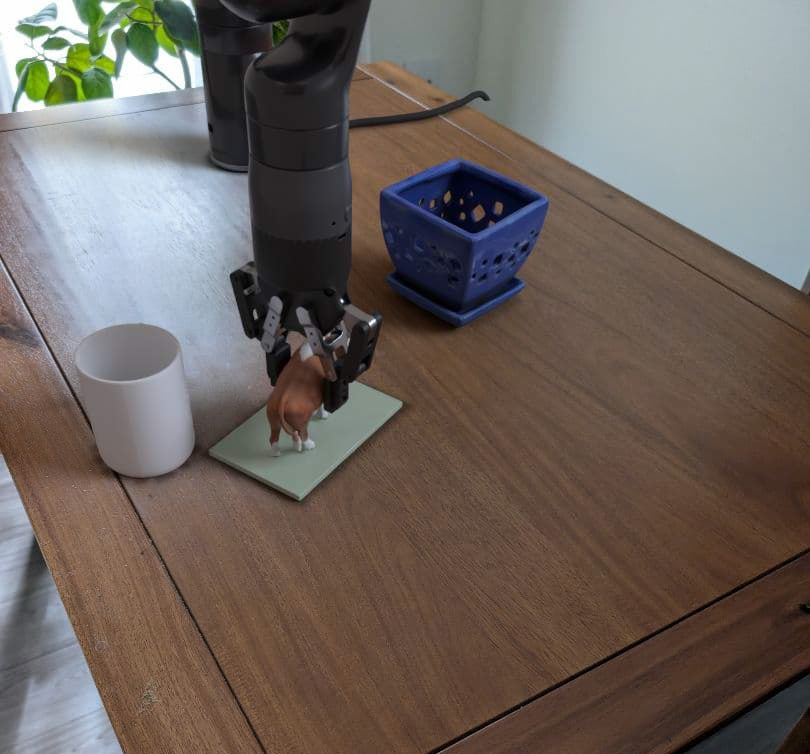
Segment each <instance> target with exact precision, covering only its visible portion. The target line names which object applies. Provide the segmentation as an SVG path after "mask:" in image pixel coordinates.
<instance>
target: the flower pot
mask: <svg viewBox="0 0 810 754" xmlns="http://www.w3.org/2000/svg"><path fill="white" fill-rule="evenodd" d="M448 192H449V195H450V198H449V199H448V200H447V202H446V201H445V196H446V195H447V194H448ZM432 201H433V206H432V207H431V203H432ZM461 201H462V202H461ZM497 203H499V204H501V205H502V207H501V213H499V212H498V211H497V210H496V208H497V207H496V206H497ZM549 205H550V200H549V198H548V197H547V196H546V195H544V194H542V193H540V192H538V191H536V190H534V189H532V188H531V187H529V186H527V185H524V184H523V183H520V182H519V181H516V180H514V179H511V178H509V177H507V176H505V175H503V174H501V173H498V172H496V171H494V170H491V169H489V168H487V167H484V166H482V165H480V164H477V163H476V162H472V161H470V160H467V159H464V158H461V157H456V158H452V159H448V160H447V161H446V160H445V161H443V162H441V163H439V164H436V165H434V166H432V167H429V168H426V169H424V170H422V171H420V172H418V173H415V174H413V175H411V176H408V177H406V178H404V179H402V180H400V181H397V182H396V183H393V184H390V185H388V186H387V187H384V188H383V189H382V190H380V192H379V219H380V225H381V232H382V236H383V237H382V238H383V240H384V244H385V247H386V250H387V254H388V257H389V258H390V260H391V262H392V264H393V266H394V267H395V268H394V270H393V271H391V272H389V273H388V274H386V276H385V280H386V283H387V285H388V286H389V287H390V288H391V289H392V290H393V291H394V292H396V293H397V294H399V295H400V296H402V297H404V298H405V299H407V300H408V301H410V302H412V303H414V304H415V305H417V306H419V307H420V308H422V309H423V310H425V311H427V312H428V313H431V314H432V315H434V316H436V317H438V318H439V319H441V320H443V321H445V322H446V323H448V324H451V325H452V326H454V327H457V328H461V327H463V326H465V325H467V324H469V323H470V322H472V321H474V320H476V319H477V318H479V317H481V316H483V315H485V314H486V313H488V312H490V311H492V310H494V309H495V308H497V307H499V306H501V305H503V304H505V303H506V302H508V301H509V300H511V299H513V298H515V296H517V295H518V294H520V293H521V292H522V291H523V290H524V289H525V288H526V286H527V282H526V280H524V279H522V278H520V277H518V276H517V274H518V272H519V271H520V270H521V268H522V267H523V266H524V264H525V263H526V261H527V260H528V258H529V256H530V255H531V253H532V251H533V250H534V247H535V245H536V243H537V241H538V239H539V236H540V234H541V231H542V228H543V226H544V223H545V220H546V216H547V213H548V209H549ZM478 206H480V207H481V208H482V210H483V212H484V215H483V216H482V217H481V218H480V219H479V220H478V219H477V217H476V214H475V209H476V208H478ZM462 214H464V218H462ZM491 222H492V223H494V224H492V225H490V223H491Z"/></svg>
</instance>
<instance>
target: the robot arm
mask: <svg viewBox="0 0 810 754" xmlns="http://www.w3.org/2000/svg"><path fill="white" fill-rule="evenodd" d="M372 2H373V0H193V7H194V15H195V23H196V33H197V42H198V51H199V58H200V59H199V60H200V68H201V78H202V87H203V96H204V105H205V112H206V113H205V114H206V120H205V121H206V124H207V126H206V127H207V133H208V141H209V157H210V160H211V162H212V164H214V165H216V166H218V167H220V168H221V169H225V170H229V171H234V172H247V192H248V203H249V216H250V229H251V230H250V231H251V240H252V241H251V242H252V252H253V253H252V254H253V260H250V261H248V262H247V263H245V264H243V265H242V266H240V267H238V268H237V269H236V270H234V271H232V272H231V273H230V274H229V280H230V284H231V289H232V292H233V295H234V299H235V303H236V307H237V310H238V314H239V318H240V322H241V324H242V329H243V333H244V335H245V336H246V337H247V338H248V339H249V340H253V339H256V340H258V341H259V342H260V346H261V348H262V350H263V351H264V354H265V355H264V356H265V363H266V364H265V366H266V374H267V377H268V379H269V380H270V386H272V387H273V388H275V385H276V381H277V379H278V377H279V375H280V374H281V372H282V370H283V369H284V367H285V366H286V365H287V363H288V362H289V360H290V359H291V357H292V347H291V346H292V345H291V343H289V342H287V341H288V340H289V339H290V337H291V334H292V332H293V333H298V334H300V335H301V336H303V337H304V338H306V339H307V338H308V341H309V344H310V347H311V350H312V353H313V355H314V356H318V357H319V359H320V362H321V365H322V368H323V371H324V374H325V377H323V406H324V410H325V411H327V412H329V413H331V414H332V413H334V412H335V411H336V410H338V409H339V408H340V407H341V406H343V405H344V404H345V403H346V402H347V401H348V399H349V383H352V382H354V381H357V379H358V378H359V377H360V376H361V375H362V374H363V373H365V372H367V371H368V370H369V369H370V368H371V365H372V362H373V360H374V359H373V358H374V355H375V351H376V347H377V343H378V339H379V337H380V336H379V335H380V333H381V329H382V324H383V317H382V315H381V313H380V312H378V311H377V310H372V311H370V312H369V313H366V312H365V311H363V310H361V309H360V308H358V307H356V306H355V305H353V299H352V296H351V294H350V291H349V287H348V283H349V282H348V281H349V277H350V273H351V269H352V257H353V256H352V252H353V250H352V249H353V248H352V246H353V245H352V244H353V242H352V241H353V240H352V239H353V234H352V233H353V179H352V171H351V163H350V128H356V127H361V126H362V127H363V126H373V125H385V124H393V123H401V122H409V121H416V120H421V119H427V118H431V117H435V116H439V115H442V114H445V113H447V112H451V111H453V110H456V109H458V108H461V107H464V106H465V105H467V104H469V103H471V102H472V101H474V100H475V99H477V98H478V99H479V98H480V99H482V100H483V101H484V102H489V101H491V98H490V96H489V95H488V93H486V92H485V91H483V90H475V91H473V92H471V93H469V94H468V95H465V96H464V97H462V98H460V99H457V100H455V101H452V102H449V103H447V104H444V105H441V106H439V107H436V108H435V107H434V108H432V109H428V110H423V111H422V110H421V111H417V112H416V111H415V112H409V113H403V114H402V113H401V114H394V115H386V116H374V117H373V116H371V117H363V118H354V119H350V99H349V98H350V97H349V96H350V90H351V85H352V81H353V77H354V74H355V71H356V67H357V65H358V61H359V55H360V51H361V47H362V43H363V39H364V34H365V32H366V31H365V30H366V26H367V22H368V19H369V15H370V10H371V6H372ZM289 20H290V22H289V25H288V28H287V31H286V33H285V34H284V35H285V36H284V37H282V39H280V41H279V42H278V43H276V44H275V45H274V32H273V24H275V23H280V22H284V21H289ZM254 311H255V313H256V317H257V318H256V317H255V313H254ZM346 325H347V327H346ZM330 332H331V334H330V336H329V337H328V338H326V339H325V340H324V339H323V337H324V336H326V335H327V334H328V333H330ZM348 338H349V339H350V341H349V345H348V346H347V341H348ZM334 351H335V353H334V354H335V357H336V360H335V357H334V354H333V352H334Z"/></svg>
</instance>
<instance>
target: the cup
mask: <svg viewBox="0 0 810 754" xmlns="http://www.w3.org/2000/svg"><path fill="white" fill-rule="evenodd" d="M73 363H74V367H75V370H76V375H77V378H78V382H79V385H80V388H81V389H80V390H81V392H82V396H83V400H84V403H85V407H86V410H87V414H88V419H89V422H90V425H91V429H92V432H93V433H92V434H93V437H94V440H95V443H96V447H97V450H98V453H99V455H100V458H101V459H102V461H103V462H104V464H106V466H107V467H108V468H110V469H111V470H113V471H115V472H116V473H118V474H120V475H123V476H126V477H130V478H139V479H140V478H142V479H144V478H154V477H158V476H162V475H166V474H168V473H171V472H173V471H175V470H176V469H178V468H179V467H181V466H183V464H185V463H186V461H187V460H188V459H189V457H190V456H191V455H192V453H193V450H194V448H195V445H196V444H195V443H196V433H195V427H194V426H195V425H194V420H193V414H192V408H191V402H190V401H191V400H190V395H189V390H188V389H189V388H188V384H187V383H188V382H187V377H186V371H185V364H184V358H183V353H182V347H181V343H180V341H179V339H177V337H176V336H175V335H174V334H173V333H172V332H170V331H169V330H168V329H167V330H166V329H164V328H162V327H159V326H157V325H153V324H149V323H148V324H147V323H143V322H138V323H137V322H135V323H133V322H132V323H120V324H116V325H115V324H114V325H110V326H107V327H104V328H101V329H99V330H97V331H95V332H93V333H91V334H89V335H87V336H86V337H85V338H84V339H83V340H82V341H80V343H79V344H78V345H77V347H76V348H75V351H74V353H73Z"/></svg>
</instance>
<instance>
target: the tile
mask: <svg viewBox="0 0 810 754" xmlns="http://www.w3.org/2000/svg"><path fill="white" fill-rule="evenodd" d="M402 407H403V401H402V400H400V399H398V398H395V397H393V396H390V395H388V394H386V393H384V392H381V391H380V390H377V389H375V388H372V387H371V386H368V385H366V384H364V383H361V382H360V381H357V380H355V381H354V382H352V383H349V399H348V401H347V402H346V403H345V404H344V405H343V406H341V407H340V408H339V409H338V410H336V411H335V412H334V413H332V414H331V413H329V412H327V411H326V412H327V413H328V415H329V417H328V418H327V419H321V417H317V416H316V413H317V410H318V409H317V410H316V411H315V412H313V415H312V416H311V418H310V421H309V423H308V427H307V431H308V438H309V439H310V440H311V441H313V442H314V443H315V444H316V447H315V448H314V449H310V451H308V450H304V449H303V443H302V442H301V447H302V449H301V451H297V449H296V448H295V446H294V445H293V443H292V436H291V435H287V434H286V433H285V431H284V429H283V428H282V427H281V431H280V435H279V441H278V448H279V449H280V451H281V455H280V456H279V457H274V456H271V455H270V451H271V444H270V442H269V439H270V436H271V428H270V424H269V421H268V418H267V404H266V405H264V406H263V407H262V408H260V409H259V410H258V411H256V413H254V414H253V415H251V416H250V417H249V418H248V419H246V420H245V421H244V422H242V423H241V424H240V425H238V426H237V427H236V428H235V429H233V430H232V431H231V432H230V433H228V434H227V435H226V436H225V437H223V438H222V439H221V440H220V441H218V442H217V443H215V444H214V445H213V446H212V447H211V448H209V449H208V455H209V456H210V457H212V458H214V459H216V460H218V461H219V462H222V463H224V464H226V465H228V466H230V467H232V468H234V469H236V470H237V471H240V472H242V474H243V473H244V474H245V475H247V476H249V477H251V478H253V479H255V480H257V481H259V482H261V483H263V484H265V485H267V486H269V487H271V488H273V489H274V490H277V491H279V492H280V493H282V494H285V495H286V496H289V497H290V498H292V499H294V500H296V501H298V502H301V501H302V500H303V499H304V498H305V497H306V496H307V495H308V494H309V493H310V492H312V491H313V489H315V488H316V487H317V486H318V485H319V484H320V483H321V482H322V481H323V480H325V479H326V477H328V476H329V475H330V474H331V473H332V472H333V471H334V470H336V468H337V467H338V466H340V464H342V463H343V462H344V461H345V460H346V459H347V458H348V457H349V456H350V455H351V454H353V453H354V452H355V451H356V450H357V449H358V448H359V447H360V446H361V445H362V444H363V443H364V442H366V441H367V440H368V439H369V438H370V437H371V436H372V435H373V434H374V433H375V432H376V431H378V429H380V428H381V427H382V426H383V425H384V424H385V423H386V422H387V421H389V419H391V417H393V416H394V415H395V414H396V413H397V412H398V411H400V410H401V408H402ZM295 433H296V434H297V435H298V431H295Z"/></svg>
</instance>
